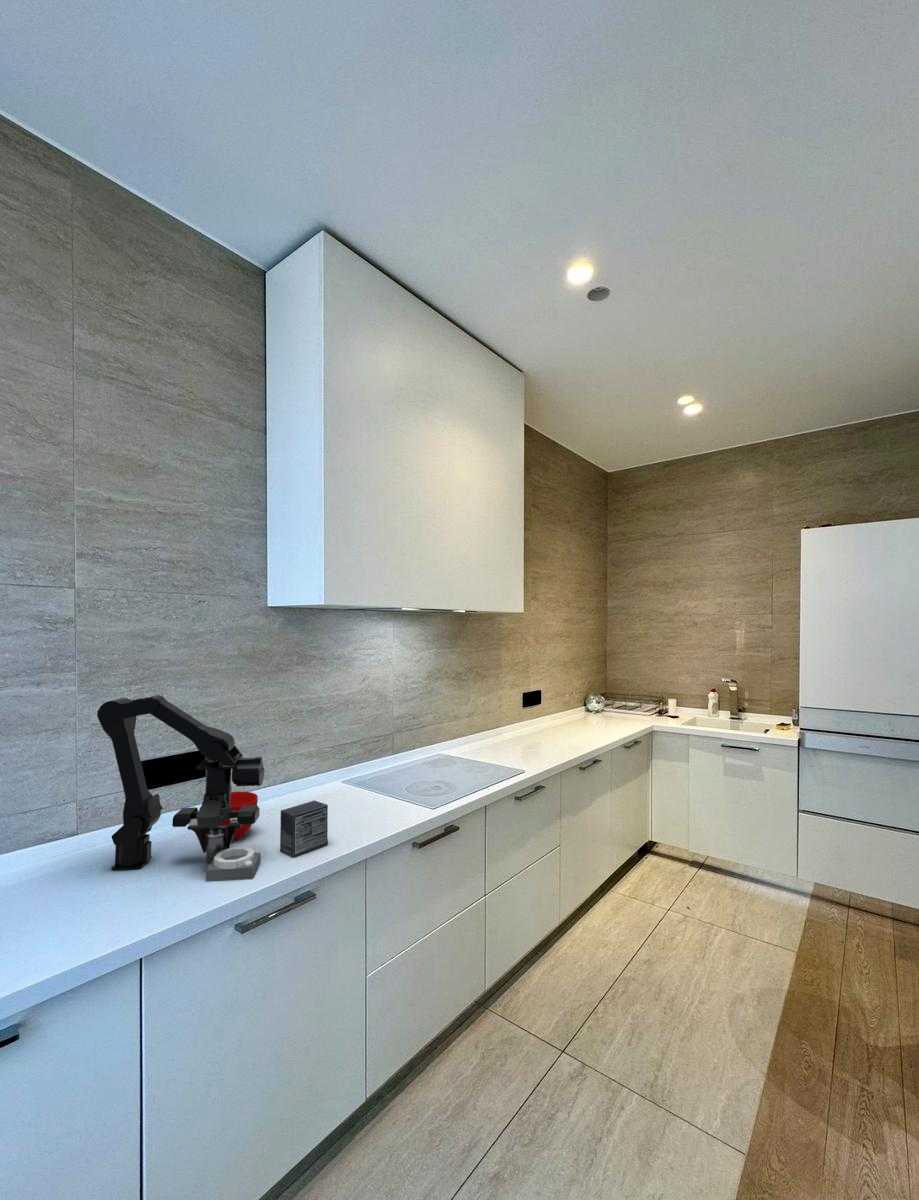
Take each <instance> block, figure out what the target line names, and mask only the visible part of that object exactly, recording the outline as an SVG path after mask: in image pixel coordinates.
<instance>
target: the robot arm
mask: <svg viewBox="0 0 919 1200" xmlns="http://www.w3.org/2000/svg"><path fill="white" fill-rule="evenodd" d="M148 714H149V715H151V716H153V717H154V718H156V719H158V721H161V722H163V723H164V724H165V725H167V726H169V727H170V728H172V729H173V730H175V731H176V732H178V733H179V734H181V735H182V736H184V737H185V738H187V739H189V740H190V741H191V742H192V743H193V744H194V746H195V747H196V749H197V750H198V751H199V752H200V753H201V754H202V755H203V756H204V757H205V758H204V759H203V760H202V762H201V763H200V764H198V765H197V766H196V770H199V771H200V770H201V771H202V770H205V787H204V788H205V789H204V790H205V791H204V794H203V798H202V799H203V800H202V803H201V806H200V808H199V810H198V807H195V806H194V807H182V808H181V809H180V810H179V811H177V813H175V814H174V815H173V818H172V827H173V828H185V827H187V830H189V831H192V832H193V833H195V835H196V838H197V839H198V842H199V844H200V847H201V850H202V853H203V854H206V846H207V837H206V832H207V828H217V827H218V826H219V825H220V822H223V821H224V820H228V819H230V821H231V822H230V824H229V825H228V826H227V829H228V833H227V841H226V849H229V848H231V846H232V843H233V841H234V840H233V838H234V835H235V832H236V830H237V828H239V827H241V826H242V825H243V824H252V825H253V824H255V823H256V822H257V821H258V819H259V817H260V811H261V810H260V807H259V806H258V804H257V805H252V806H243V807H242V808H241V809H240V811H231V804H230V799H231V792H233V791H232V784H233V785H235V786H236V787H256V786H257V787H259V786H262V785H263V782H264V779H265V778H264V777H265V767H264V762H263V757H262V756H254V757H244V755H243V754H242V753H241V751H240V750H239V749H238V747H237V745H235V739H234V736H233V735H231V734H230V733H229V732H227V731H224V730H221V729H219V728H216V727H212V726H209V725H206V724H204V723H202V722H200V721H199V720H197V719H196V718H194V716H192V715H190V714H188V713H187V712H186V711H183V710H182V709H181V708H179V707H178V706H176V705H175V704H173V703H172V702H170V701H168V699H165V697H164V696H163V695H160V694H159V695H158V694H155V695H153V696H149V697H142V698H137V699H130V698H128V697H119V698H115V699H111V700H108V701H106V702H103V703H101V705H100V706H99V708H98V709H97V712H96V715H97V720H98V721H99V724H100V726H101V728H102V730H103V731H104V733H105V734H106V735H107V736H108V737H109V739H110V740H111V743H112V746H113V750H114V755H115V759H116V764H117V768H118V773H119V776H120V781H121V785H122V789H123V792H124V798H125V799H124V805H123V809H122V824H123V825H122V826H120V828H119V829H118V830H117V831H115V832H114V833H113V834H111V839H112V840H111V841H112V843H113V846H115V853H114V865H113V866H111V867H110V868H111V871H118V870H119V871H121V870H123V871H124V870H139V869H142V868H143V866H145V865H146V864H147V863H148V862H149V861H150V860H151V858H153V856H152V842H153V841H152V840H150V837H151V836H150V835H151V834H149V832H151V830H152V829H153V826H154V825H155V824H156V823H157V822H158V821H160V818H161V815H162V810H163V809H164V808H163V806H162V804H161V801H160V799H161V798H160V794H159V793H155V794H154V795H153V794H152V793H151V792H150V790H149V789H148V785H147V782H146V778H145V773H144V768H143V764H142V760H141V757H140V753H139V747H138V744H137V740H136V736H135V729H136V725H137V724H136V723H137V717H138V716H143V715H148ZM232 782H233V783H232Z"/></svg>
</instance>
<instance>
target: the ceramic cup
mask: <svg viewBox="0 0 919 1200" xmlns="http://www.w3.org/2000/svg"><path fill="white" fill-rule="evenodd" d="M258 797H259V796H258V794H256V793H255V792H251V791H231V799H230V804H231V811H240V809H241V808H242V807H243V806H252V805H257V806H258V800H259V798H258ZM230 822H231V821H230V819H228V820H224V821H223V822H220V823H222V824H226V825H227V826H228V825H229V824H230ZM252 825H253V824H243V825H242V826H241V827H239V828H237V830H236V832H235V835H234V838H233V840H232V841H237V840H239V839H242V838H244V837H245V835H246V833H247V832H248V831H249V829H250V828H251V827H252ZM227 833H228V829H227ZM226 841H227V838H226Z"/></svg>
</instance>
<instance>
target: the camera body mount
mask: <svg viewBox="0 0 919 1200" xmlns="http://www.w3.org/2000/svg"><path fill="white" fill-rule="evenodd" d="M261 857H262V856H261V852H255V849H252V848H250V847H248V846H237V847H236V846H234V847H230V848H229V849H226V850H223V851H220V852H218V853H217V854H216V856H215V857H214V859H213V861H212V862H211V863H210V864H208V866H207V868H206V869H205V882H218V881H220V882H221V881H236V880H238V881H239V880H252V879H253V878H254V876H255V875H256V873H257V871H258V869H259V867H260V865H261Z"/></svg>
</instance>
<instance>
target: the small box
mask: <svg viewBox="0 0 919 1200" xmlns="http://www.w3.org/2000/svg"><path fill="white" fill-rule="evenodd" d="M328 808H329V805H328V804H327V803H324V802H320V801H317V800H312V801H308V802H304V803H302V804H298V805H295V806H291V807H288V808H285V809H281V810H280V827H279V828H280V833H279V834H280V835H279V836H280V838H279V844H280V846H279V852H281V853H283V854H285V855H287V856H288V857H291V858H292V859H294V858H297V857H299V856H303V855H305V854H308V853H309V852H313V851H316V850H318V849H321V848H323V847H326V846H328V844H329V841H328V838H329V837H328V831H329V830H328V828H329V827H328V825H329V824H328V823H329V822H328V819H329V818H328V817H329V814H328V813H329V812H328Z"/></svg>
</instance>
